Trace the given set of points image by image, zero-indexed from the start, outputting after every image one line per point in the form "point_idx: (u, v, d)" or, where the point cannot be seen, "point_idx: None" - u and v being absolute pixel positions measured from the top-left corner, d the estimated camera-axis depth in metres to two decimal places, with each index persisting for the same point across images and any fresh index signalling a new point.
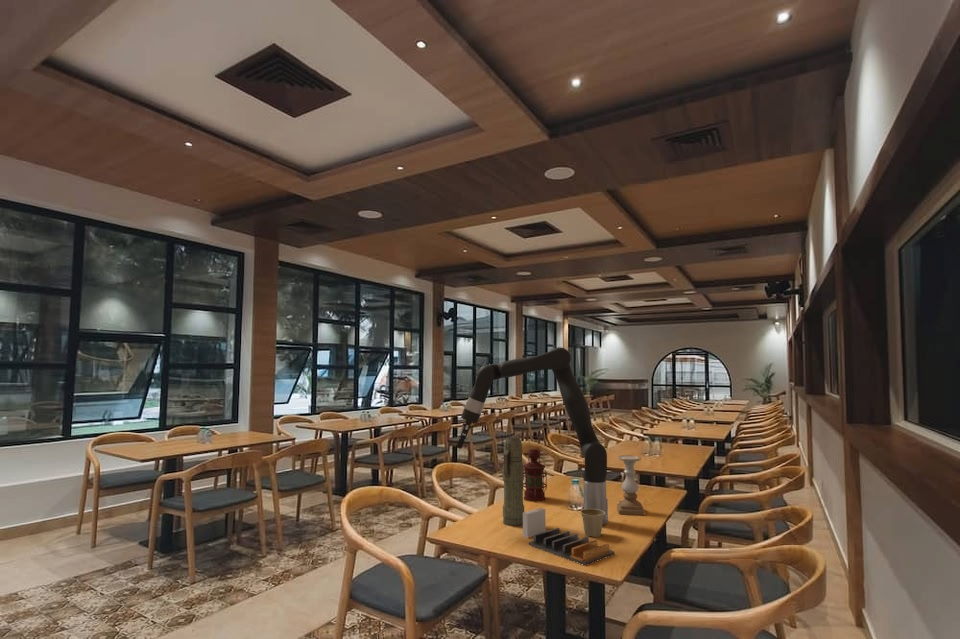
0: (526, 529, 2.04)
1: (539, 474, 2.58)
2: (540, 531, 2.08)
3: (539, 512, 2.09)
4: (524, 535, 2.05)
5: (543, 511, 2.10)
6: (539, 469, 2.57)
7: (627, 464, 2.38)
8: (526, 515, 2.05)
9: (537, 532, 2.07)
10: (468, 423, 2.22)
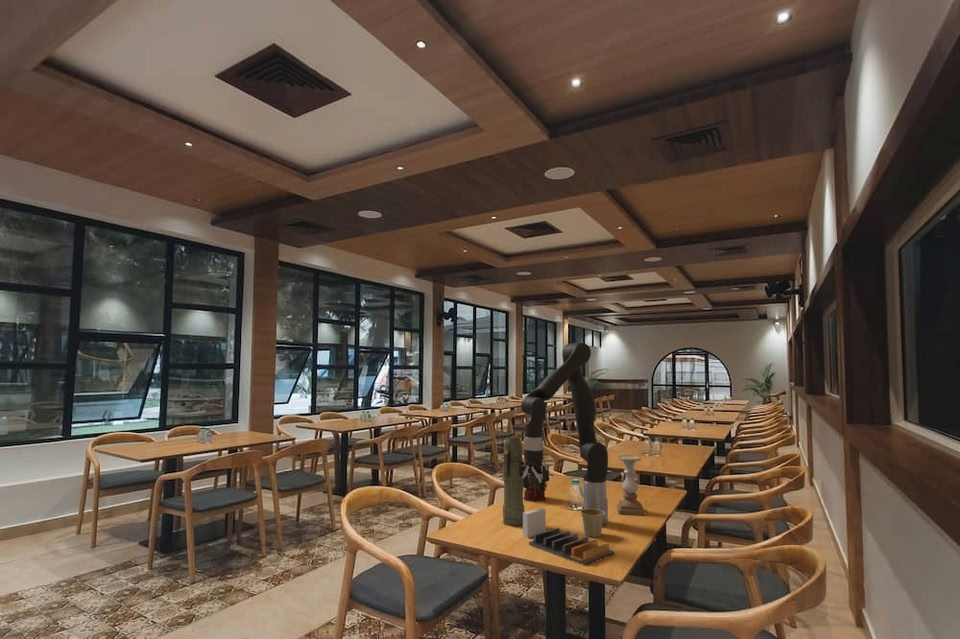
0: (526, 529, 2.04)
1: None
2: (540, 531, 2.08)
3: (539, 512, 2.09)
4: (524, 535, 2.05)
5: (543, 511, 2.10)
6: None
7: (627, 464, 2.38)
8: (526, 515, 2.05)
9: (537, 532, 2.07)
10: (540, 463, 2.07)
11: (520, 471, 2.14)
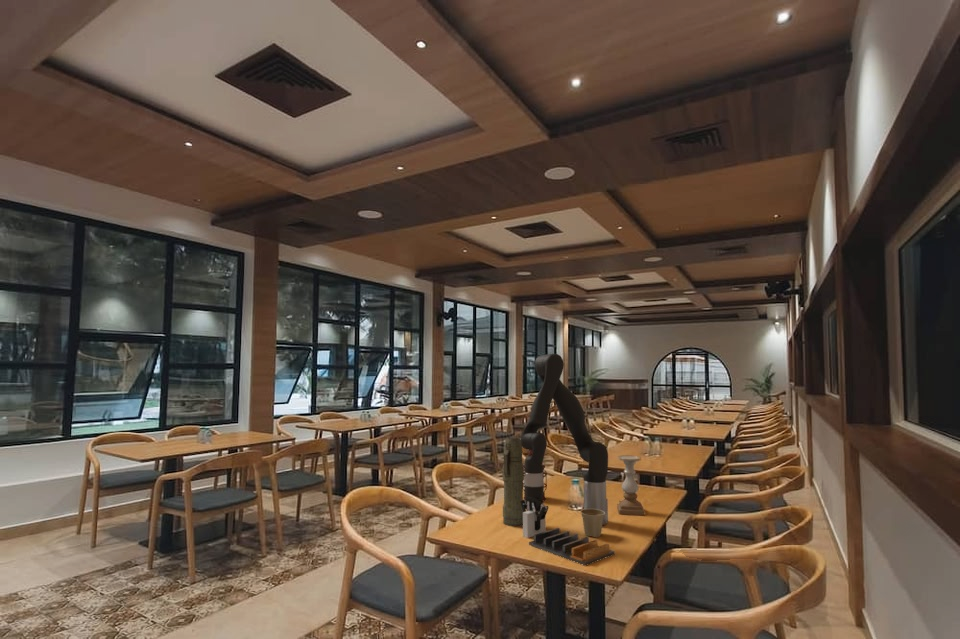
0: (526, 529, 2.04)
1: None
2: (540, 531, 2.08)
3: None
4: (524, 535, 2.05)
5: None
6: None
7: (627, 464, 2.38)
8: (526, 515, 2.05)
9: (537, 532, 2.07)
10: (541, 499, 2.06)
11: (524, 510, 2.11)
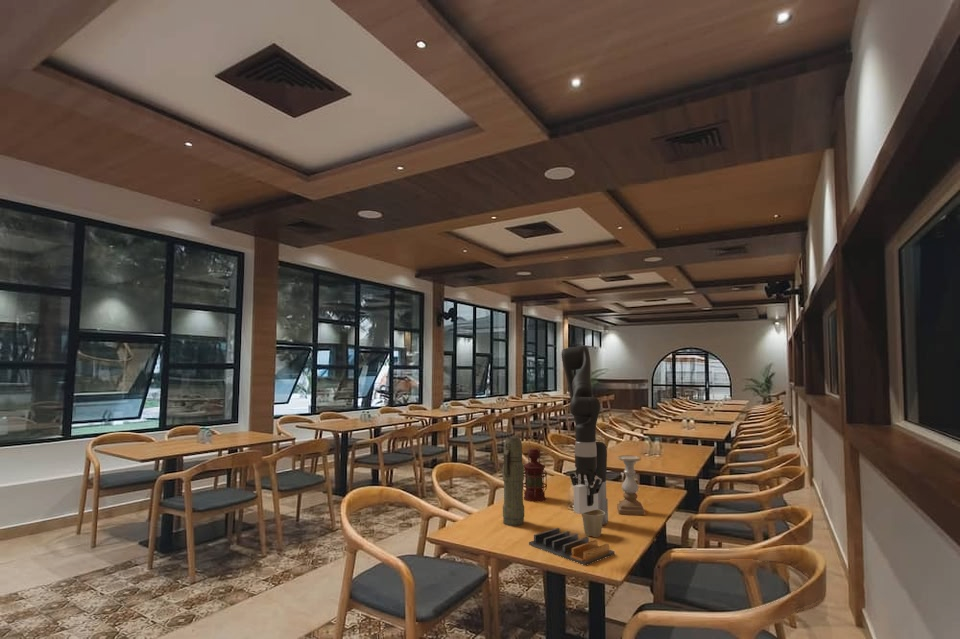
0: (578, 504, 1.83)
1: (539, 474, 2.58)
2: (592, 507, 1.86)
3: None
4: (575, 511, 1.83)
5: None
6: (539, 469, 2.57)
7: (627, 464, 2.38)
8: (578, 488, 1.83)
9: (589, 508, 1.85)
10: (594, 471, 1.84)
11: (574, 484, 1.89)
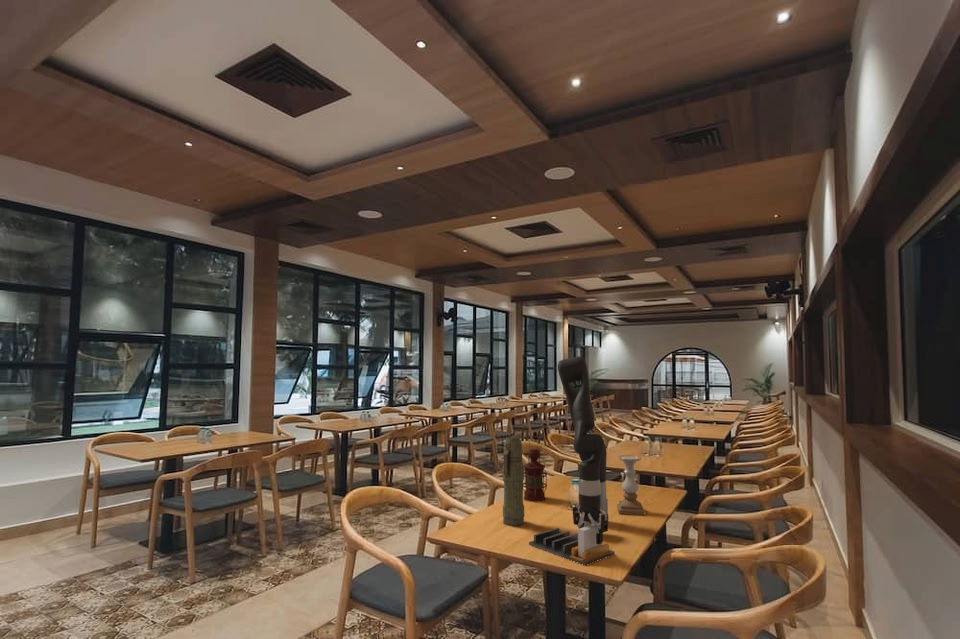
0: (582, 548, 1.81)
1: (539, 474, 2.58)
2: None
3: None
4: (580, 554, 1.82)
5: None
6: (539, 469, 2.57)
7: (627, 464, 2.38)
8: (582, 532, 1.81)
9: None
10: (598, 510, 1.83)
11: (574, 519, 1.89)
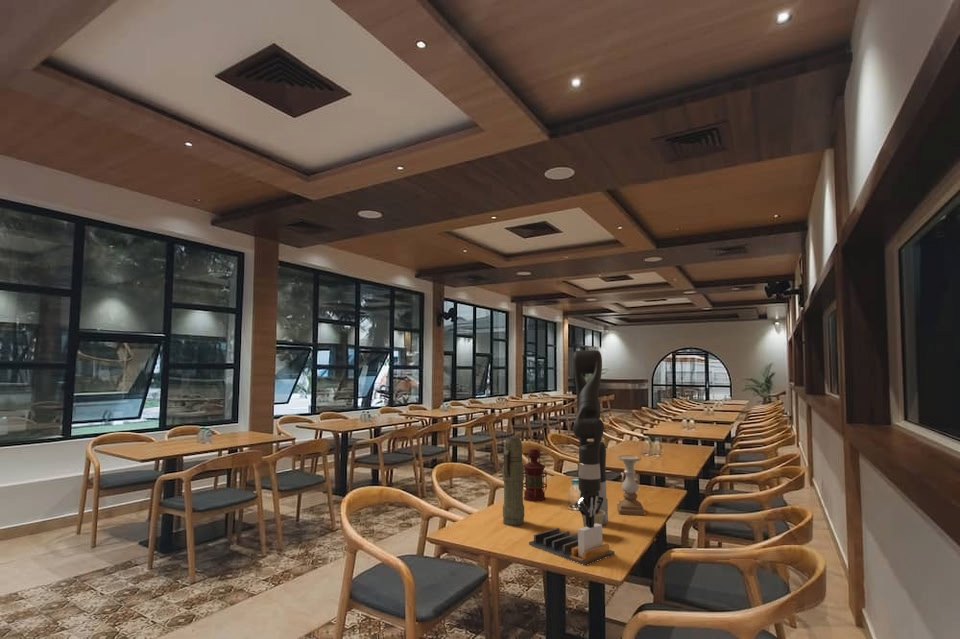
0: (582, 548, 1.81)
1: (539, 474, 2.58)
2: None
3: (596, 528, 1.85)
4: (580, 555, 1.82)
5: (600, 527, 1.87)
6: (539, 469, 2.57)
7: (627, 464, 2.38)
8: (582, 532, 1.81)
9: None
10: (583, 493, 1.84)
11: None
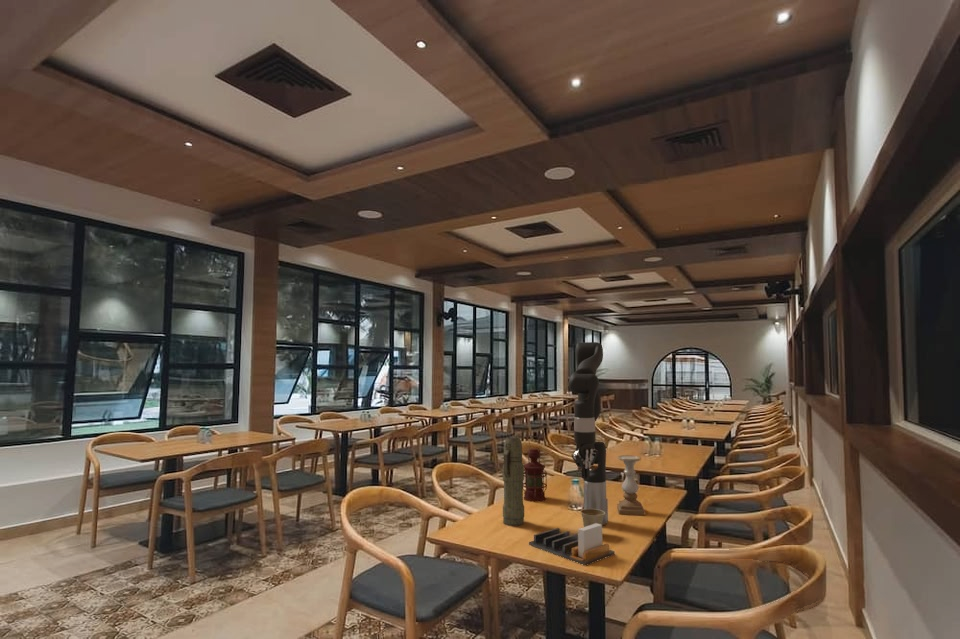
0: (582, 548, 1.81)
1: (539, 474, 2.58)
2: None
3: (596, 528, 1.85)
4: (580, 554, 1.82)
5: (600, 527, 1.87)
6: (539, 469, 2.57)
7: (627, 464, 2.38)
8: (582, 532, 1.81)
9: None
10: (578, 446, 1.89)
11: None
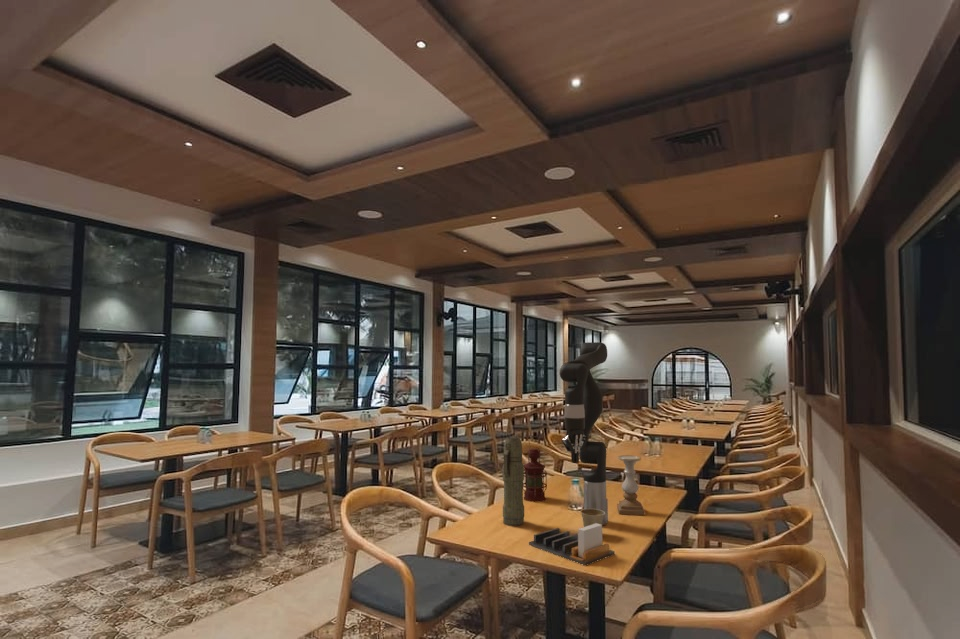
0: (582, 548, 1.81)
1: (539, 474, 2.58)
2: None
3: (596, 528, 1.85)
4: (580, 554, 1.82)
5: (600, 527, 1.87)
6: (539, 469, 2.57)
7: (627, 464, 2.38)
8: (582, 532, 1.81)
9: None
10: (568, 431, 2.00)
11: None
